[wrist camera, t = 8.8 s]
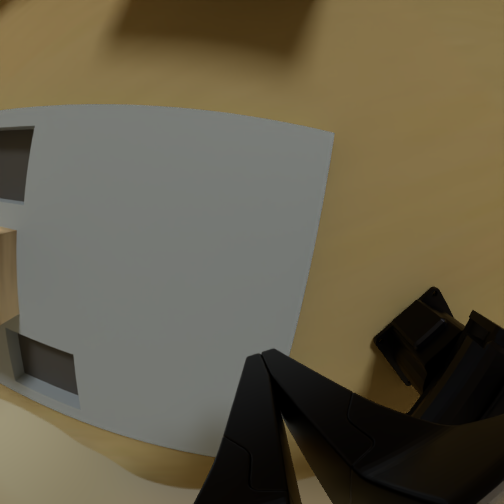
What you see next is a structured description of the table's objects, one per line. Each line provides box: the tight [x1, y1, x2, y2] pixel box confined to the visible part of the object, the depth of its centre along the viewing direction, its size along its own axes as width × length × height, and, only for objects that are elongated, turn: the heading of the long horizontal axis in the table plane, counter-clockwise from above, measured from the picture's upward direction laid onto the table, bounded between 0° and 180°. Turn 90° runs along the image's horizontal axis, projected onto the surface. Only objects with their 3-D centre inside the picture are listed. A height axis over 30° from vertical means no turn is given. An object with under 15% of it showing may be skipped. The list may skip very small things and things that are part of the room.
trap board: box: [0, 104, 334, 457], centre depth 20 cm, size 39×26×4 cm, turn 80°
